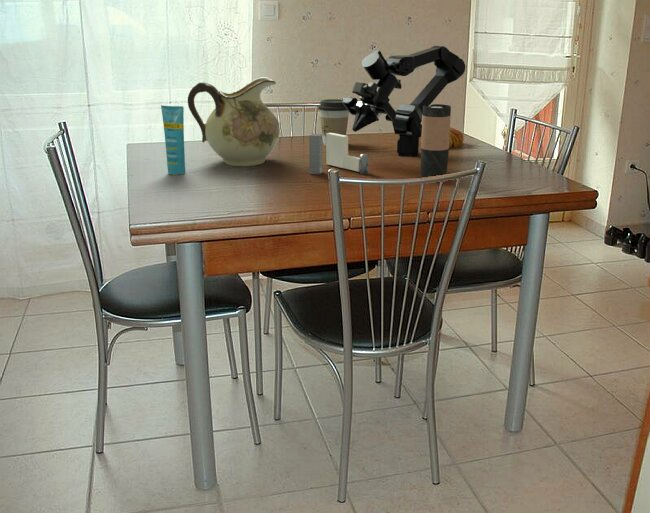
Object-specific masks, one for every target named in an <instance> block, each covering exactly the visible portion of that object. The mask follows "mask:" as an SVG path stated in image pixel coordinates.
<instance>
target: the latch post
mask: <svg viewBox="0 0 650 513" xmlns="http://www.w3.org/2000/svg"><path fill="white" fill-rule="evenodd" d="M308 143H309V144H308V145H309V146H308V147H309V150H308V152H309V153H308V154H309V155H308V156H309V157H308V158H309V160H308V161H309V163H308V164H309V166H308V167H309V169H308V170H309V174H310V175H321V174H322V173H323V137H322V133H311V134H309V138H308Z"/></svg>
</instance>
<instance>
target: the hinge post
mask: <svg viewBox="0 0 650 513" xmlns="http://www.w3.org/2000/svg"><path fill="white" fill-rule="evenodd" d="M359 158H360V172H359V174H360V175H368V174H369V161H370V160H369V153H361V154H359Z"/></svg>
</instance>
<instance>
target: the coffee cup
mask: <svg viewBox="0 0 650 513" xmlns="http://www.w3.org/2000/svg"><path fill="white" fill-rule="evenodd" d="M343 100H344V99H341V98H340V99H337V98H334V99H333V98H330V99H322V100H320V103H319V104H318V105H317V110H318V112H319V113H318V114H319V120H320V129H321V134H322V144H323V146H324V147H326V133H336V134H341V135H346V136H347V132H348V124H349V116H350V112H349V111H348V110H347V109H346V107H345V106H344V105H343V103H342V102H343Z"/></svg>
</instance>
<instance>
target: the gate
mask: <svg viewBox="0 0 650 513" xmlns="http://www.w3.org/2000/svg"><path fill="white" fill-rule="evenodd" d="M325 147H326V148H325V150H326V152H325V153H326V154H325V155H326V157H325V158H326V159H325V161H326V165H329V166H333V167H337V168H341V169H345V170H349V171H350V170H351V171H355V172H358V173H360V157H357V156H353V155H349V135H347V134H346V135H341V134H336V133H326V146H325Z"/></svg>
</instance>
